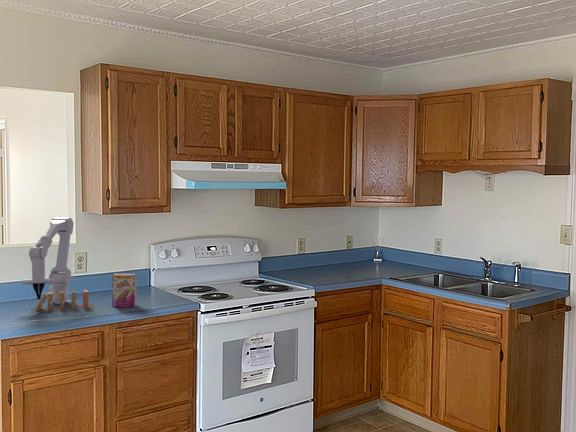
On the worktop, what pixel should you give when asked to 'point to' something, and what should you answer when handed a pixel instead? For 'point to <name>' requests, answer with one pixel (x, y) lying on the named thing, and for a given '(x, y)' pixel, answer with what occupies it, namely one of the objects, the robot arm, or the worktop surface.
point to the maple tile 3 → (61, 300)
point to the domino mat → (57, 308)
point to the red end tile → (85, 299)
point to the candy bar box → (124, 290)
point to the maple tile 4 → (73, 299)
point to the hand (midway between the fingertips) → (39, 298)
